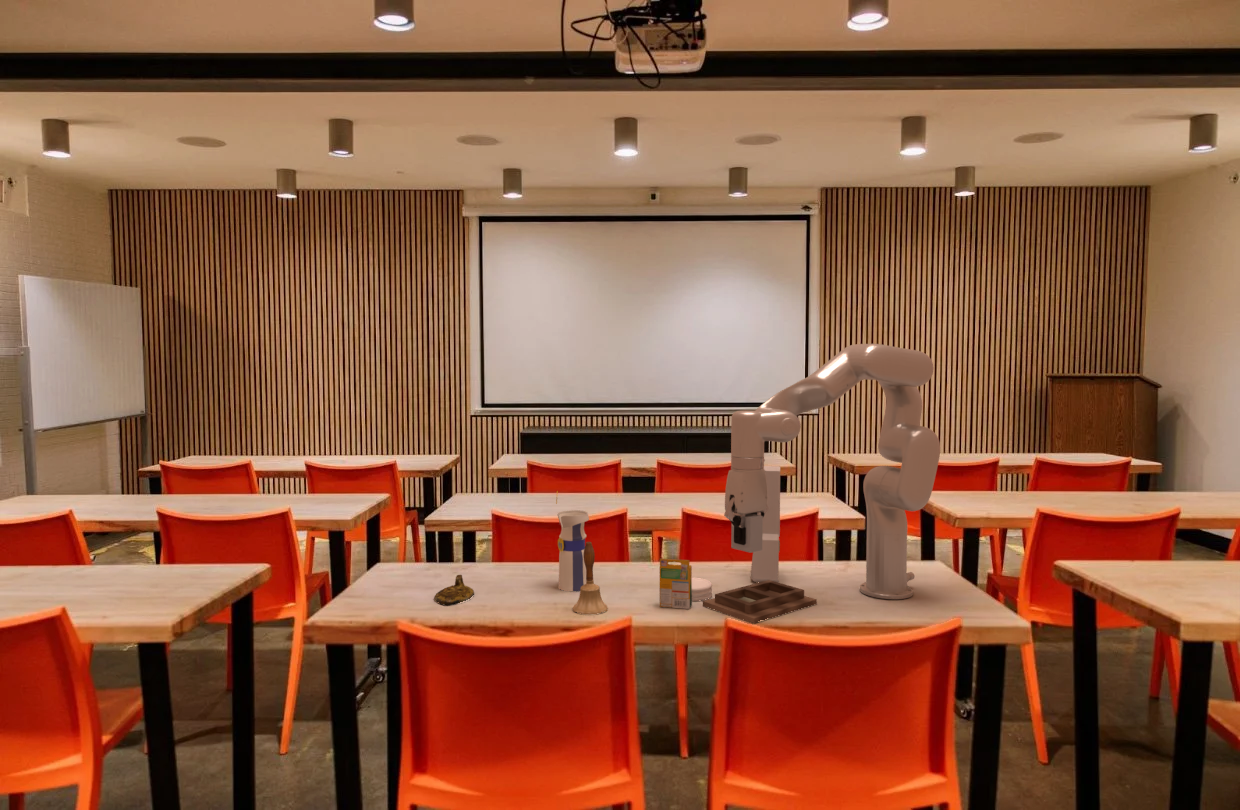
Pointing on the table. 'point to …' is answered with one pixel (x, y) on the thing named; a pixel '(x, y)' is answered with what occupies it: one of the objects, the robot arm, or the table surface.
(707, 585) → the white round stack
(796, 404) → the robot arm
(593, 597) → the hand bell
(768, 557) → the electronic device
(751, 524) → the grey block
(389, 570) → the table surface
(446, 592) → the seal
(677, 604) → the crayon box
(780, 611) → the tray
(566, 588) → the water bottle
